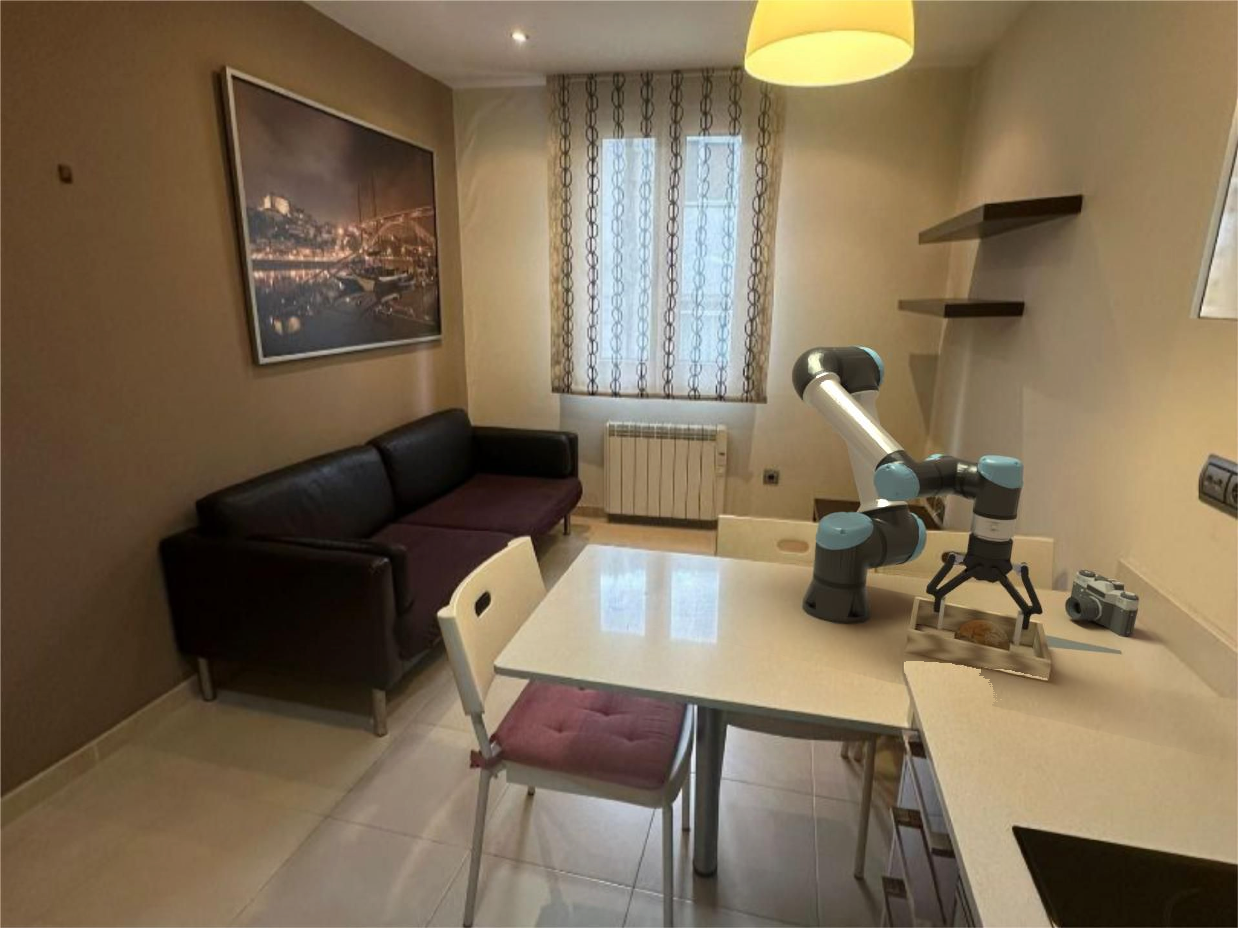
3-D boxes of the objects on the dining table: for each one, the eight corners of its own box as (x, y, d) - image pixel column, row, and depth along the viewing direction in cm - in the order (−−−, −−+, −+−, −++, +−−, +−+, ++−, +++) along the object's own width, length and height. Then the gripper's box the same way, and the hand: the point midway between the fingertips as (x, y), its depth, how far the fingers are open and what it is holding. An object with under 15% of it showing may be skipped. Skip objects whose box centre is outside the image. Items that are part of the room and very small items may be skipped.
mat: (1046, 667, 126) (1047, 664, 126) (1040, 636, 138) (1040, 634, 138) (1135, 687, 120) (1136, 684, 119) (1120, 653, 132) (1120, 650, 131)
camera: (1043, 605, 153) (1050, 566, 151) (1083, 604, 154) (1091, 565, 151) (1094, 637, 138) (1103, 595, 136) (1138, 637, 139) (1148, 594, 136)
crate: (904, 657, 129) (908, 630, 127) (911, 620, 144) (915, 596, 143) (1046, 692, 118) (1051, 662, 116) (1037, 647, 133) (1042, 621, 132)
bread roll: (1001, 682, 126) (1029, 653, 124) (956, 654, 127) (983, 624, 124) (984, 655, 136) (1010, 628, 133) (942, 629, 136) (967, 601, 134)
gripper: (920, 530, 127) (908, 628, 132) (1070, 552, 116) (1052, 658, 121) (922, 520, 134) (911, 614, 139) (1065, 540, 122) (1048, 641, 127)
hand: (976, 635), depth 130 cm, fingers open, 13 cm apart
